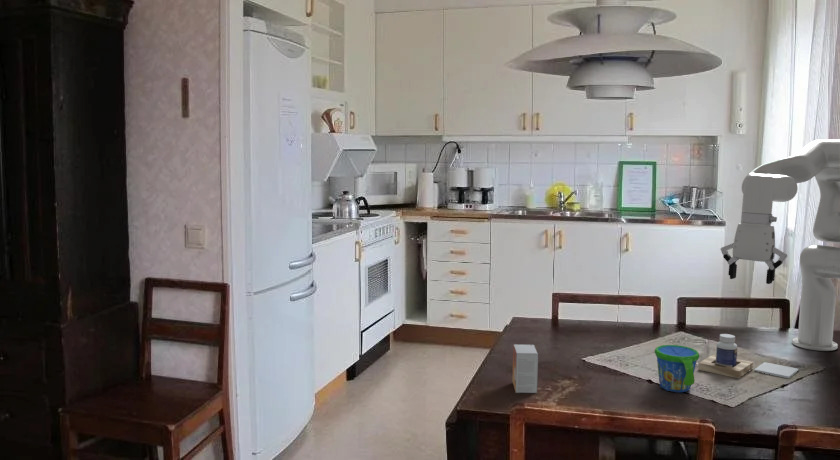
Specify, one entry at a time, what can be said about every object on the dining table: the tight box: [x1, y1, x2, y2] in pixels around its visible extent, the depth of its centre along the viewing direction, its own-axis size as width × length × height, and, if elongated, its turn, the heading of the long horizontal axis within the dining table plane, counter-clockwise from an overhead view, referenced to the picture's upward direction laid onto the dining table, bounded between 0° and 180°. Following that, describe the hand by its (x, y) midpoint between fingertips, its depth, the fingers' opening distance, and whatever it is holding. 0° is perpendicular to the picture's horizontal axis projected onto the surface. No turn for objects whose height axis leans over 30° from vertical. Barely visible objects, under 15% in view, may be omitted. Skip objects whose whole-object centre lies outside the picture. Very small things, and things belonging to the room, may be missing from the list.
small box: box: [511, 343, 539, 394], centre depth 189 cm, size 8×6×10 cm
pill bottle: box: [715, 333, 738, 367], centre depth 205 cm, size 5×5×10 cm
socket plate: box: [698, 353, 754, 379], centre depth 205 cm, size 11×11×2 cm
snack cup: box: [654, 344, 700, 393], centre depth 189 cm, size 16×10×10 cm
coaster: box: [753, 361, 800, 379], centre depth 204 cm, size 9×9×1 cm
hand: (750, 280), depth 204 cm, fingers open, 9 cm apart
